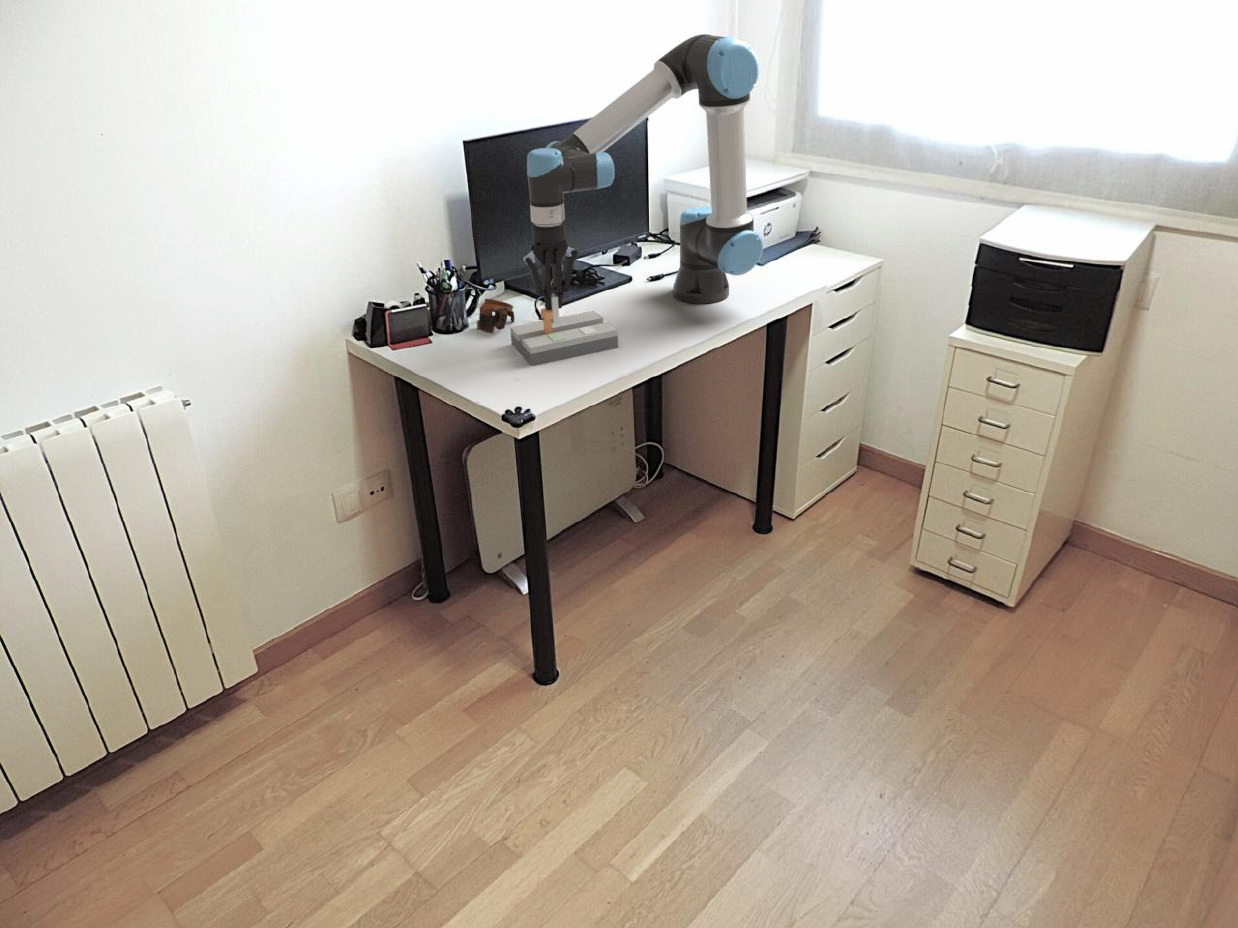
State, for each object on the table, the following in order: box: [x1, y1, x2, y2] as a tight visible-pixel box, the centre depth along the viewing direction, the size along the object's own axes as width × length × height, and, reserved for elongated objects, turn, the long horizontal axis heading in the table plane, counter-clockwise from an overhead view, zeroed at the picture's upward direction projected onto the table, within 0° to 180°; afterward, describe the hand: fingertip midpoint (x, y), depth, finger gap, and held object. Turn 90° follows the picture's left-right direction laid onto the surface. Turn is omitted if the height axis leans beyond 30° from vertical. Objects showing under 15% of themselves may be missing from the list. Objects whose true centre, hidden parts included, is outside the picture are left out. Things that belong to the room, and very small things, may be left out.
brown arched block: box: [476, 298, 515, 334], centre depth 225 cm, size 12×10×8 cm
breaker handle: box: [540, 307, 554, 335], centre depth 210 cm, size 2×3×7 cm, turn 25°
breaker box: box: [509, 310, 619, 367], centre depth 214 cm, size 22×14×5 cm, turn 115°
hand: (554, 321), depth 211 cm, fingers closed
